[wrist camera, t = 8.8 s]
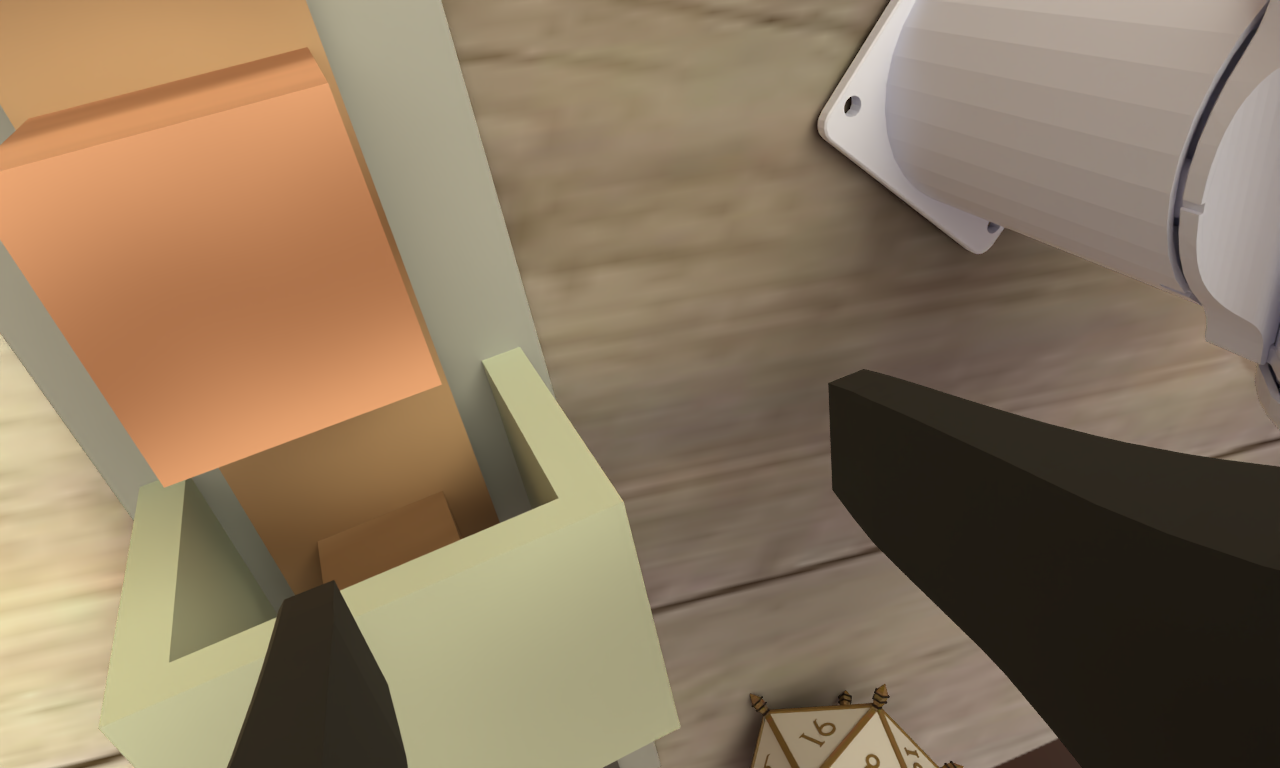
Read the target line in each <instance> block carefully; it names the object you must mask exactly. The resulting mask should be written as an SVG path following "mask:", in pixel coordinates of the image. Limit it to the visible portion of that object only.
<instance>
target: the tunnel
mask: <svg viewBox="0 0 1280 768" xmlns="http://www.w3.org/2000/svg"><path fill="white" fill-rule="evenodd" d="M482 363H483V366H484V369H485V372H486V375H487V378H488V381H489V384H490V387H491V390H492V393H493V396H494V399H495V401H496V404H497V407H498V410H499V413H500V416H501V419H502V422H503V425H504V428H505V431H506V434H507V437H508V440H509V443H510V446H511V449H512V452H513V455H514V458H515V461H516V464H517V467H518V470H519V473H520V475H521V478H522V481H523V484H524V487H525V490H526V493H527V496H528V499H529V502H530V505H531V508H532V510H530V511H527V512H525V513H523V514H520V515H518V516H516V517H513V518H511V519H509V520H506V521H504V522H501V523H499V524H497V525H494V526H492V527H490V528H487V529H485V530H482V531H480V532H478V533H475V534H473V535H471V536H468V537H466V538H464V539H461V540H459V541H456V542H454V543H452V544H449V545H447V546H445V547H442V548H440V549H437V550H435V551H433V552H430V553H428V554H426V555H423V556H421V557H419V558H416V559H414V560H411V561H409V562H407V563H404V564H402V565H400V566H397V567H395V568H392V569H390V570H388V571H385V572H383V573H381V574H378V575H376V576H374V577H371V578H369V579H366V580H364V581H362V582H359V583H357V584H355V585H352V586H350V587H347V588H345V589H343V590H340V592H341V594H342V596H343V598H344V600H345V602H346V604H347V606H348V608H349V610H350V612H351V613H352V615H353V617H354V619H355V621H356V623H357V625H358V627H359V629H360V631H361V633H362V635H363V637H364V639H365V641H366V643H367V644H368V646H369V648H370V650H371V652H372V654H373V656H374V658H375V660H376V662H377V664H378V666H379V668H380V670H381V672H382V674H383V676H384V677H385V679H386V681H387V683H388V686H389V690H390V694H391V698H392V702H393V706H394V709H395V713H396V717H397V721H398V725H399V729H400V733H401V737H402V741H403V745H404V749H405V753H406V757H407V764H408V768H603V767H605V766H607V765H609V764H611V763H613V762H615V761H617V760H618V759H620V758H622V757H624V756H626V755H628V754H630V753H632V752H634V751H636V750H638V749H640V748H642V747H644V746H646V745H648V744H649V743H651V742H653V741H655V740H657V739H659V738H661V737H663V736H665V735H667V734H669V733H671V732H673V731H675V730H677V729H679V728H680V723H679V719H678V715H677V711H676V707H675V703H674V700H673V696H672V692H671V688H670V684H669V680H668V676H667V672H666V668H665V664H664V660H663V656H662V652H661V648H660V644H659V640H658V636H657V632H656V628H655V624H654V620H653V616H652V612H651V609H650V605H649V601H648V597H647V593H646V589H645V585H644V581H643V577H642V573H641V569H640V565H639V561H638V557H637V553H636V549H635V545H634V541H633V537H632V533H631V529H630V525H629V521H628V518H627V514H626V510H625V506H624V502H623V500H622V499H621V497H620V496H619V494H618V493H617V491H616V490H615V488H614V487H613V485H612V484H611V482H610V481H609V479H608V478H607V476H606V475H605V473H604V472H603V470H602V469H601V467H600V466H599V464H598V463H597V461H596V460H595V458H594V457H593V455H592V454H591V452H590V451H589V449H588V448H587V446H586V445H585V443H584V442H583V440H582V439H581V437H580V436H579V434H578V433H577V431H576V430H575V428H574V427H573V425H572V424H571V422H570V421H569V419H568V418H567V416H566V415H565V413H564V412H563V410H562V409H561V407H560V406H559V404H558V403H557V401H556V400H555V398H554V397H553V395H552V394H551V392H550V391H549V389H548V388H547V386H546V385H545V383H544V382H543V380H542V379H541V377H540V376H539V374H538V373H537V372H536V370H535V369H534V367H533V366H532V364H531V363H530V361H529V360H528V358H527V357H526V355H525V354H524V352H523V351H522V349H521V348H520V347H518V348H515V349H512V350H510V351H507V352H504V353H501V354H499V355H496V356H493V357H491V358H488V359H485V360H482ZM276 617H277V613H276V611H275V610H274V608H273V606H272V605H271V603H270V602H269V600H268V599H267V597H266V595H265V594H264V592H263V591H262V589H261V587H260V586H259V584H258V583H257V581H256V579H255V578H254V576H253V575H252V573H251V572H250V570H249V568H248V567H247V565H246V564H245V562H244V560H243V559H242V557H241V556H240V554H239V553H238V551H237V549H236V548H235V546H234V545H233V543H232V541H231V540H230V538H229V537H228V535H227V533H226V532H225V530H224V529H223V527H222V526H221V524H220V522H219V521H218V519H217V518H216V516H215V514H214V513H213V511H212V510H211V508H210V506H209V505H208V503H207V502H206V500H205V499H204V497H203V495H202V494H201V492H200V491H199V489H198V487H197V486H196V484H195V483H194V481H193V480H192V478H189V479H186V480H184V481H181V482H178V483H176V484H173V485H170V486H168V487H165V488H164V487H163V485H162V484H161V482H160V481H159V480H157V481H155V482H152V483H149V484H146V485H144V486H141V487H140V488H139V494H138V499H137V505H136V511H135V517H134V523H133V529H132V535H131V541H130V546H129V552H128V558H127V564H126V570H125V576H124V582H123V588H122V593H121V599H120V605H119V611H118V617H117V623H116V629H115V634H114V640H113V646H112V652H111V658H110V664H109V670H108V676H107V681H106V687H105V693H104V699H103V705H102V711H101V717H100V723H99V730H100V731H101V732H102V733H103V734H104V735H105V736H106V737H107V738H108V739H109V740H110V742H111V743H112V744H113V745H114V746H115V747H116V748H117V749H118V750H119V751H120V752H121V754H122V755H123V756H124V757H125V758H126V759H127V760H128V761H129V762H130V763H131V764H132V766H133V767H134V768H227V766H228V763H229V761H230V758H231V755H232V753H233V750H234V747H235V744H236V742H237V739H238V736H239V733H240V730H241V728H242V725H243V722H244V719H245V716H246V714H247V711H248V708H249V705H250V702H251V700H252V697H253V693H254V690H255V687H256V684H257V681H258V678H259V675H260V672H261V669H262V666H263V662H264V659H265V656H266V652H267V649H268V646H269V642H270V639H271V635H272V632H273V628H274V625H275V621H276Z"/></svg>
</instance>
